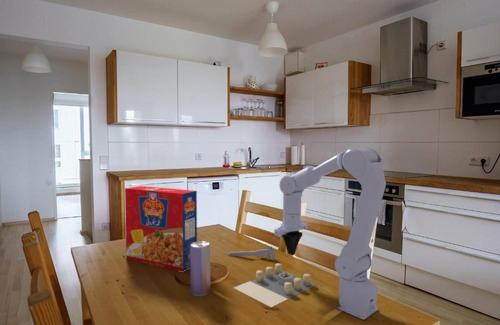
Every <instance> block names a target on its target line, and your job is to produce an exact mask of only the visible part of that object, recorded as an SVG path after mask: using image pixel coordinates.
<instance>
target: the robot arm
mask: <svg viewBox="0 0 500 325" xmlns="http://www.w3.org/2000/svg"><path fill="white" fill-rule="evenodd" d="M383 164H384V159H383V158H382V156H381V155H380V154H379V152H378V151H377V150H375V149H373V148H368V147H367V148H349V149H347V150H346V151H342V152H339V153H338V154H336V155H335V156H333V157H331V158H329V159H328V160H326V161H324V162H322V163H320V164H319V165H317V166H314V165H309V164H308V165H307V164H306V165H304V166H303V167H302V168H303V169H300V170H299V171H293V172H292V175H284V176H283V177H282V178H281V179H280V181H279V189H280V192H282V194H283V196H282V200H283V201H282V203H283V204H282V223H281V224H280V227H278V228H274V231H273V232H274V234H273V236H275V237H278V238H280V237H281V238H282V239H283V242H284V245H285V247H286V251H287V252H286V253H287V254H288V255H291V256H294V255H296V252H297V249H298V245H299V242H300V240H301V238H302V237H303V232H302V231H301V230H307V229H308V228H309V227H308V226H309V223H308V222H306V221H301V220H302V197H303V192H304V190H306V189H308V188H310V187H311V186H312V187H313V186H315V185H317V184H319V183H320V182H321V178H322V177H324V176H326V175H328V174H331V173H333V172H336V171H339V170H345V171H347V172H348V173H349V174H350V175H351V176H352V177H353V178H355V180H357V181H358V183H359V184H360V185H361V187H362V188H361V191H360V195H359V199H358V203H357V206H356V211H355V215H354V219H353V222H352V224H351V229H350V233H349V236H348V240H347V242H346V243H345V245H344V246H343V247H342V249H341V251H340V253H339V255H338V256H337V257H336V259H335V262H334V268H335V271H336V272H337V274H338V277H339V284H338V285H339V286H338V287H339V292H338V304H339V305H338V306H337V307H336V309H338V310H340V311H342V312H344V313H347V314H350V315H352V316H354V317H356V318H358V319H360V320H366V319H368V317H370V316H371V315H373V314H374V313H375V312H377V311H378V309H379V308H378V307H377V306H378V287H377V283H376V282H374V281H372V280H371V279H369V277H368V271H369V269H371V267H372V265H373V261H372V260H373V259H372V252H373V250H372V248H371V247H370V243H371V239H372V235H373V232H374V229H375V225H376V221H377V218H378V215H379V214H378V213H379V211H380V208H381V204H382V201H383V197H384V193H385V190H386V186H387V182H386V178H385V177H386V176H385V172H384V167H383Z"/></svg>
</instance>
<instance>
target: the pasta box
mask: <svg viewBox="0 0 500 325" xmlns="http://www.w3.org/2000/svg"><path fill="white" fill-rule="evenodd" d="M197 193H198V192H197V190H192V189H191V190H189V189H179V188H167V187H158V186H157V187H155V186H147V185H146V186H145V185H138V186H132V187H125V188H124V199H125V201H124V204H125V206H124V207H125V212H124V213H125V250H126V251H125V252H126V254H125V255H126V257H125V259H126V260H127V261H132V262H135V263H140V264H144V265H149V266H153V267H157V268H162V269H166V270H169V271H174V272H177V271H179V270H180V271H184V270H186V269H188V268H190V247H191V244H192V243H193V242H198V217H197V216H198V214H197V213H198V211H197V210H198V206H197V203H198V202H197V201H198V199H197V198H198V197H197V196H198V195H197Z"/></svg>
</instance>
